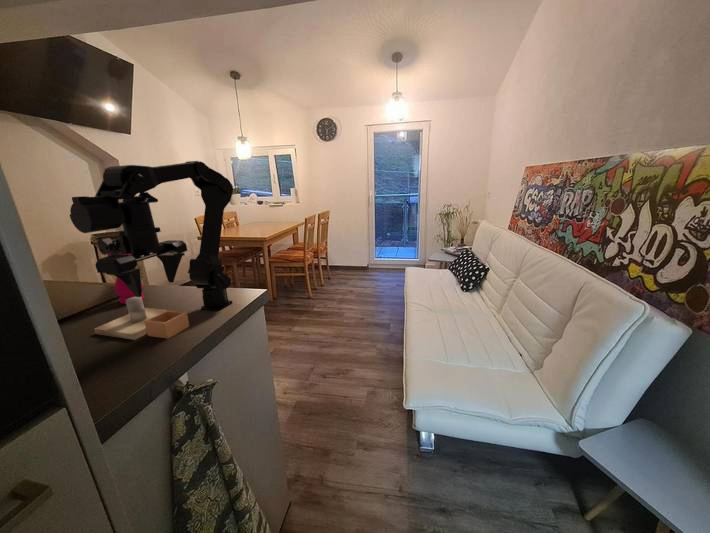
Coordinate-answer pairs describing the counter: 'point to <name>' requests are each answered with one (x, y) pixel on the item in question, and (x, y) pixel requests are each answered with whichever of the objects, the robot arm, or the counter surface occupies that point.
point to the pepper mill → (123, 289)
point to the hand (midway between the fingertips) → (156, 289)
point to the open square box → (167, 324)
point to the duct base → (130, 321)
